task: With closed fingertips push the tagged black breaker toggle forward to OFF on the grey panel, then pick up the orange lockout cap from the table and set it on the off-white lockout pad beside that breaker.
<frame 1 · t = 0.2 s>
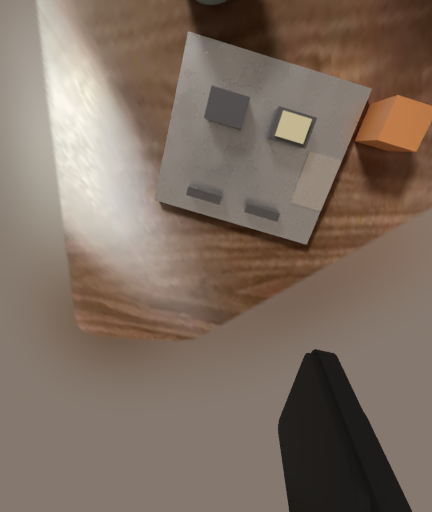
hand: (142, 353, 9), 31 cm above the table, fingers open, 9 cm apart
panel: (253, 149, 35), on the table
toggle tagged: (290, 128, 31), point 3 cm above the table, slide at 0.0 cm
lockout cap: (378, 128, 33), on the table
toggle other: (227, 109, 31), point 3 cm above the table, slide at 0.0 cm
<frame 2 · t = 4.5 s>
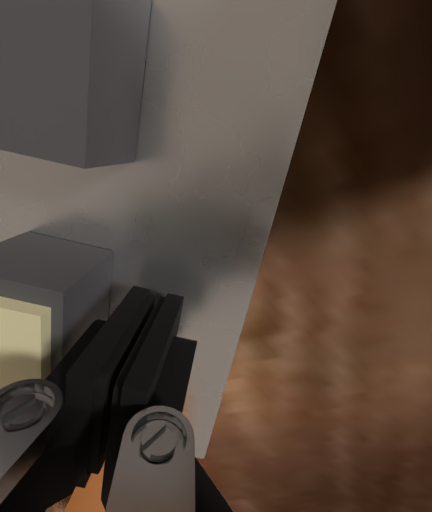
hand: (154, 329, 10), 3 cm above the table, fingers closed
panel: (27, 188, 11), on the table
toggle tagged: (38, 318, 9), point 3 cm above the table, slide at 0.4 cm, touching gripper
lockout cap: (142, 453, 16), on the table
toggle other: (57, 60, 7), point 3 cm above the table, slide at 0.0 cm
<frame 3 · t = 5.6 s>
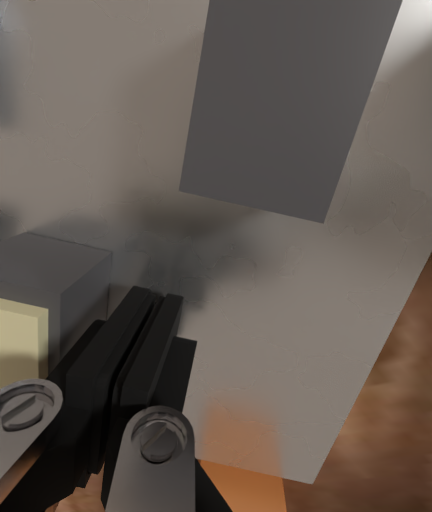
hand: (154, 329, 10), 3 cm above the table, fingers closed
panel: (155, 218, 11), on the table
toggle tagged: (35, 320, 9), point 3 cm above the table, slide at 5.4 cm, touching gripper
lockout cap: (232, 474, 16), on the table
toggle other: (270, 108, 7), point 3 cm above the table, slide at 0.0 cm
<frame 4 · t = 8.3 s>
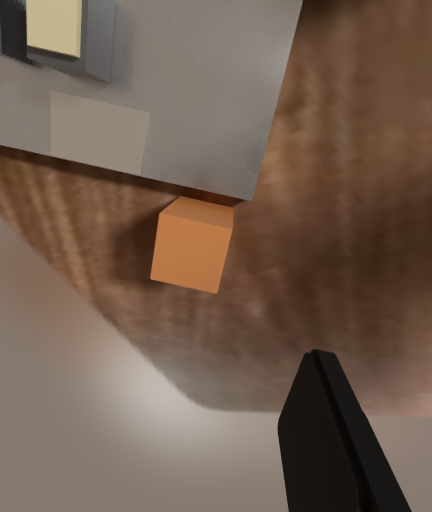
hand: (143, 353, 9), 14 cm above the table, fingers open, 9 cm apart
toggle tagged: (71, 27, 15), point 3 cm above the table, slide at 5.5 cm
lockout cap: (202, 227, 22), on the table
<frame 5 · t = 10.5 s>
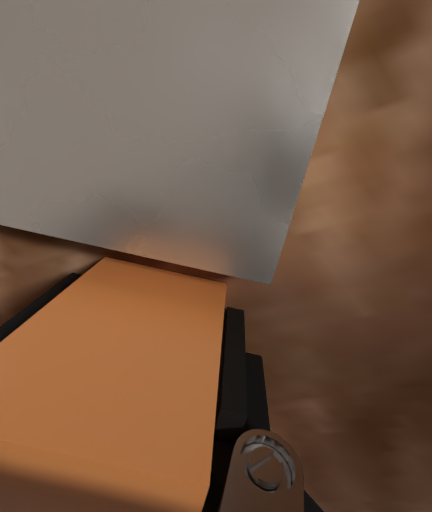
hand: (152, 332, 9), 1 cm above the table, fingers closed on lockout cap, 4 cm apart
lockout cap: (157, 321, 10), on the table, touching gripper
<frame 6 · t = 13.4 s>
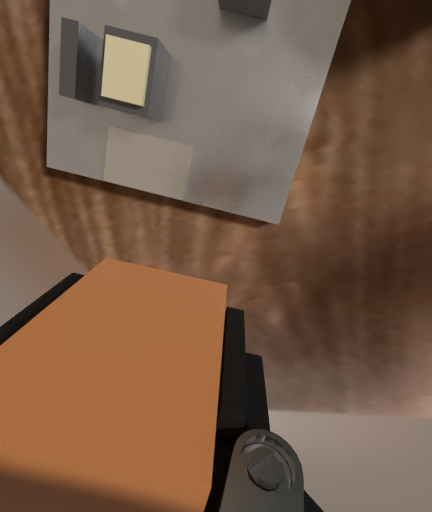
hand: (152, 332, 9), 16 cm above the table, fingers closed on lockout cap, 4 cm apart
panel: (192, 48, 20), on the table
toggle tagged: (134, 78, 18), point 3 cm above the table, slide at 5.5 cm
lockout cap: (158, 322, 10), point 15 cm above the table, touching gripper
when the fingers open (4 cm above the table, at t = 16.3 s): lockout cap drops 1 cm, resting on panel.
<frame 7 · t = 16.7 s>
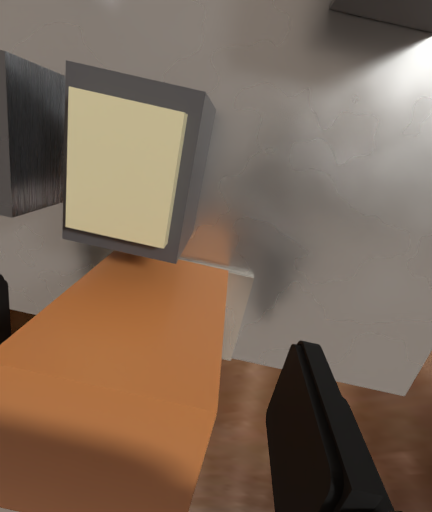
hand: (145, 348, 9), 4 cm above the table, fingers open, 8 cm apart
panel: (253, 90, 10), on the table
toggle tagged: (143, 169, 8), point 3 cm above the table, slide at 5.5 cm
lockout cap: (166, 305, 11), point 2 cm above the table, touching panel
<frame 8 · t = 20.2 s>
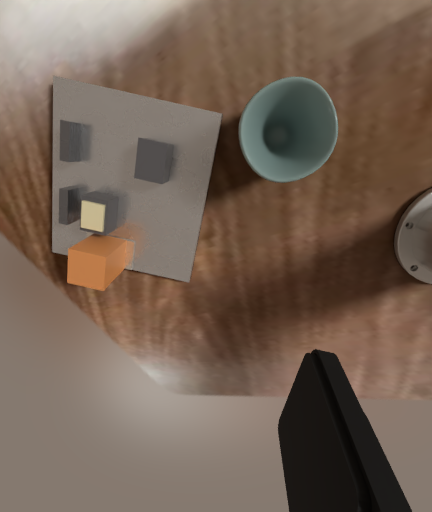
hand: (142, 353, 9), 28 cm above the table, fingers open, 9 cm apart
cup: (273, 137, 32), on the table
panel: (133, 188, 35), on the table
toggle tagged: (99, 213, 33), point 3 cm above the table, slide at 5.5 cm
lockout cap: (109, 251, 36), point 2 cm above the table, touching panel
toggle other: (154, 160, 31), point 3 cm above the table, slide at 0.0 cm
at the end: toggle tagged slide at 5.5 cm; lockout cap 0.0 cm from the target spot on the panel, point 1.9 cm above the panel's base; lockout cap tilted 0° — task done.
